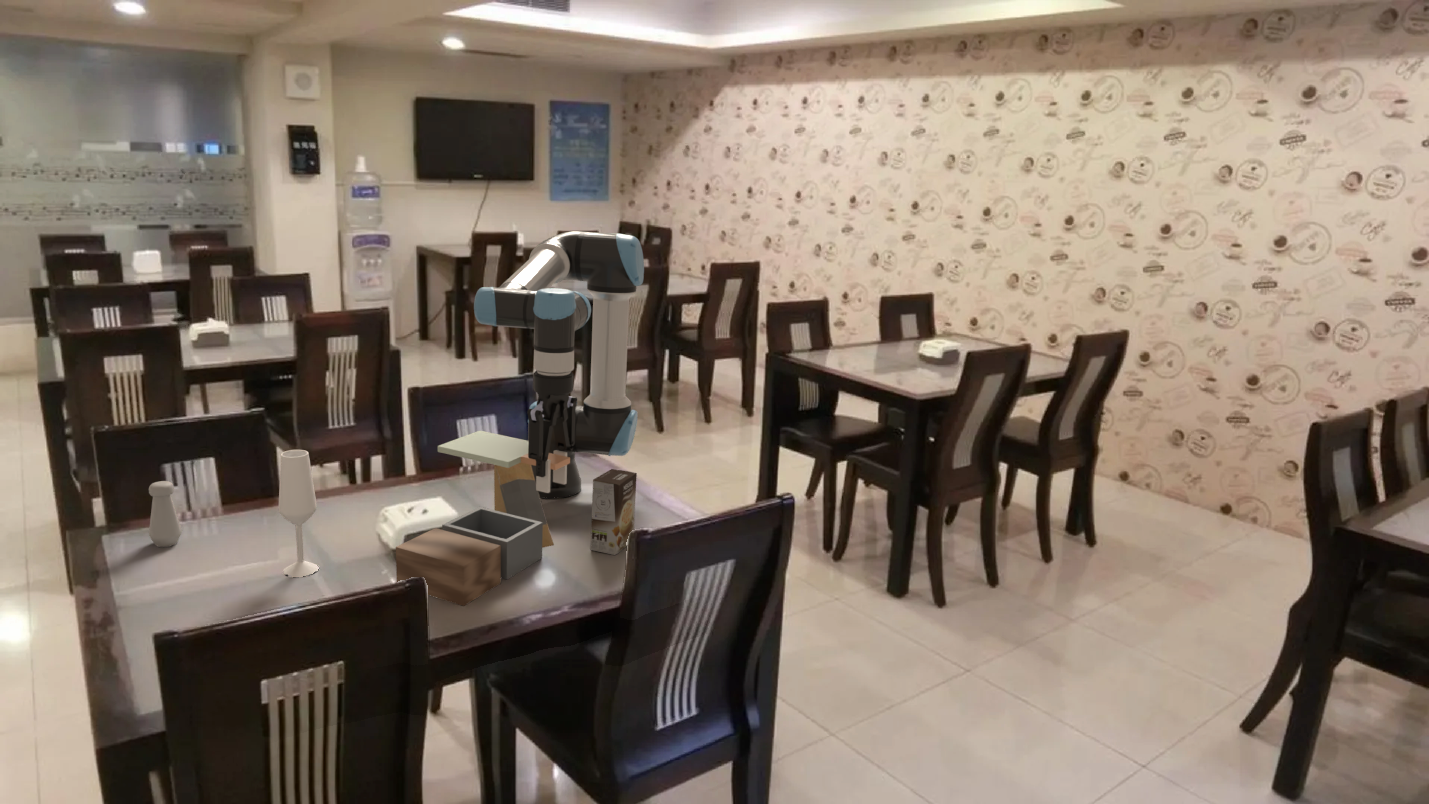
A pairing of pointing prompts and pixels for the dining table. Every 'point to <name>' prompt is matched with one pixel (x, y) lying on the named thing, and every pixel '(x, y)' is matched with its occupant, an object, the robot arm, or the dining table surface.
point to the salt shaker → (163, 515)
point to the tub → (503, 536)
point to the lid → (496, 450)
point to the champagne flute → (297, 503)
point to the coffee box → (612, 510)
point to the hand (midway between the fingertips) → (551, 486)
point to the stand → (450, 565)
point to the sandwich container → (520, 496)
